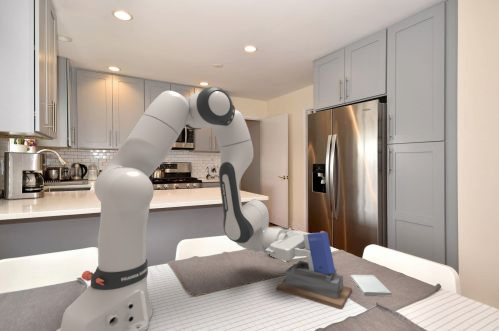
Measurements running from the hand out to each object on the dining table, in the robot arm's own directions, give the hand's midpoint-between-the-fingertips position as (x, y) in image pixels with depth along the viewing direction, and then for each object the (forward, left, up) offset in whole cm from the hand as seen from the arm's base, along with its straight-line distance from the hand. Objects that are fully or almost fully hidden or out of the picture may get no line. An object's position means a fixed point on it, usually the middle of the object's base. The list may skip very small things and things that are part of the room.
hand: (316, 249), depth 81 cm
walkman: (-1, -2, -7) cm, 7 cm away
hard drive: (+13, -13, -14) cm, 23 cm away
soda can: (+21, +25, -13) cm, 35 cm away
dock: (0, +1, -13) cm, 13 cm away
